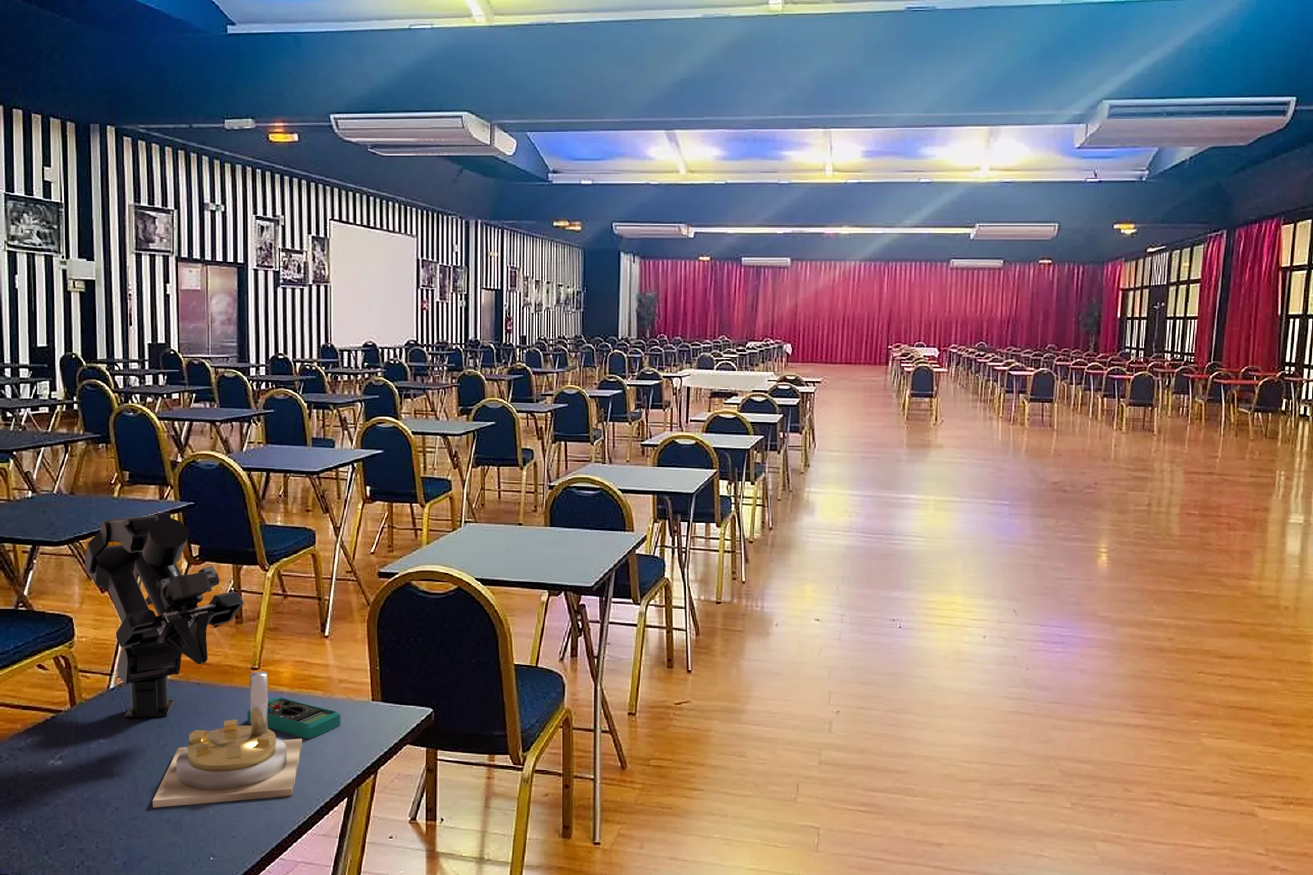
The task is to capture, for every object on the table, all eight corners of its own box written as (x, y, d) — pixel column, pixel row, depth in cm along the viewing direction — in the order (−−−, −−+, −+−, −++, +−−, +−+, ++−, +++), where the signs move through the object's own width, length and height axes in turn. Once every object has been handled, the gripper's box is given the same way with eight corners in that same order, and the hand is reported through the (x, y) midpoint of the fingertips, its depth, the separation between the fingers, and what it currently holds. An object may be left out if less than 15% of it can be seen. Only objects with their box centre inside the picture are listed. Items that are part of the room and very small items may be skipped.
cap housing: (178, 754, 157) (178, 735, 157) (302, 744, 162) (301, 726, 162) (152, 807, 140) (152, 786, 140) (292, 795, 145) (291, 775, 144)
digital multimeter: (278, 710, 177) (278, 694, 177) (342, 727, 170) (342, 710, 170) (244, 724, 171) (243, 707, 170) (309, 742, 164) (308, 725, 164)
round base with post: (195, 741, 155) (194, 670, 154) (280, 735, 158) (279, 665, 157) (179, 775, 143) (177, 699, 142) (271, 768, 146) (270, 694, 145)
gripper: (123, 562, 154) (164, 648, 149) (236, 543, 169) (277, 620, 164) (98, 604, 159) (137, 688, 154) (210, 582, 175) (249, 658, 169)
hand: (203, 662), depth 160 cm, fingers closed
